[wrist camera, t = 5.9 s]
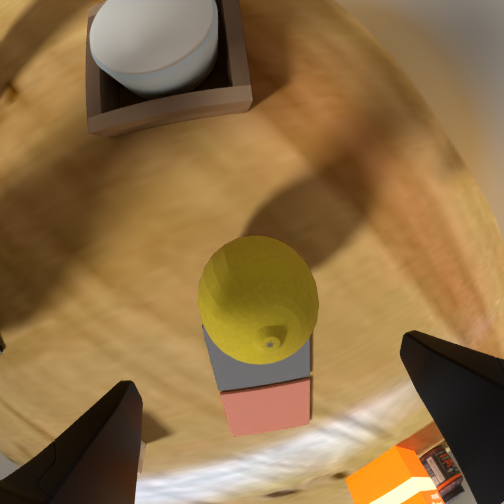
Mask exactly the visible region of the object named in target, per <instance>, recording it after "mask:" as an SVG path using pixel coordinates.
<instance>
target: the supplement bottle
mask: <svg viewBox="0 0 504 504" xmlns="http://www.w3.org/2000/svg"><path fill="white" fill-rule="evenodd" d="M419 460H420V462H421V463H422V465H423V467H424V468H425V470H426V472H427V474H428V475H429V477H430V478H431V480H432V481H433V483H434V485H435V487H436V488H437V491H438V493H439V494H440V496H441V498H442V500H443V501H444V503H445V504H449V503H451V502H452V501H454V500H455V499H457V498H458V497H459V496H460V495H461V494H463V493H464V489H463V487H462V486H461V482H462V481H463V476H462V475H461V473H460V471H459V470H458V468H457V467H456V465H455V464H454V462H453V461H452V459H451V458H450V456H449V455H448V453H447V452H446V450H445V449H444V448H443V447H437V448H434V449H432V450H431V451H429V452H428V453H427V454H425V455H424V456H422V457H421V458H420V459H419Z"/></svg>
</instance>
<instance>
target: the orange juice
mask: <svg viewBox="0 0 504 504" xmlns="http://www.w3.org/2000/svg"><path fill="white" fill-rule="evenodd" d="M345 480H346V482H347V485H348V487H349V490H350V493H351V495H352V498H353V500H354V503H355V504H445V503H444V501H443V500H442V498H441V496H440V494H439V493H438V491H437V488H436V487H435V485H434V483H433V481H432V480H431V478H430V477H429V475H428V474H427V472H426V470H425V468H424V467H423V465H422V463H421V462H420V460H419V458H418V457H417V455H416V453H415V452H414V451H412V450H408V449H405V448H401V447H398V446H394V447H392V448H391V449H390V450H388V451H387V452H385V453H384V454H383V455H381V456H380V457H378V458H377V459H375V460H374V461H373V462H371V463H370V464H368V465H367V466H365V467H363V468H362V469H360V470H359V471H357V472H356V473H354V474H352V475H351V476H349V477H347V478H346V479H345Z"/></svg>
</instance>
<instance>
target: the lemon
mask: <svg viewBox="0 0 504 504" xmlns="http://www.w3.org/2000/svg"><path fill="white" fill-rule="evenodd" d="M198 306H199V311H200V315H201V319H202V323H203V325H204V327H205V329H206V331H207V333H208V335H209V336H210V338H211V340H212V341H213V342H214V344H215V345H216V346H217V347H218V348H219V349H221V350H222V351H223V352H224V353H225V354H227V355H229V356H231V357H232V358H234V359H236V360H238V361H241V362H245V363H248V364H260V365H261V364H270V363H275V362H278V361H281V360H284V359H285V358H287V357H289V356H291V355H292V354H294V353H295V352H297V351H298V350H299V349H300V348H301V347H302V346H303V345H304V344H305V343H306V341H307V340H308V339H309V337H310V336H311V334H312V332H313V330H314V327H315V325H316V322H317V317H318V309H319V300H318V293H317V287H316V283H315V280H314V277H313V275H312V273H311V271H310V269H309V267H308V265H307V264H306V262H305V261H304V260H303V259H302V258H301V257H300V255H299V254H298V253H297V252H296V251H295V250H294V249H292V248H291V247H289V246H288V245H286V244H285V243H283V242H281V241H279V240H276V239H273V238H270V237H267V236H247V237H242V238H237V239H235V240H233V241H231V242H229V243H227V244H225V245H224V246H223V247H221V248H220V249H219V250H218V251H217V252H215V253H214V255H213V256H212V257H211V259H210V260H209V262H208V263H207V264H206V266H205V268H204V270H203V273H202V276H201V279H200V281H199V289H198Z"/></svg>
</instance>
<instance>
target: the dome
mask: <svg viewBox="0 0 504 504" xmlns="http://www.w3.org/2000/svg"><path fill="white" fill-rule="evenodd" d="M90 49H91V54H92V56H93V59H94V60H95V62H96V64H97V65H98V66H99V67H100V68H101V69H102V70H104V71H105V72H106V73H108V74H109V75H110V76H112V77H113V78H114V79H116V80H117V81H118V82H120V83H121V84H122V85H124V86H125V87H126V88H128V89H129V90H130V91H131V92H133V93H134V94H136V95H138V96H141V97H143V98H148V99H159V98H164V97H169V96H174V95H179V94H185V93H187V92H189V91H191V90H192V89H194V88H195V87H197V86H198V85H199V84H201V83H202V82H203V81H204V80H205V79H206V78H207V76H208V75H209V74H210V72H211V71H212V69H213V67H214V65H215V63H216V60H217V56H218V10H217V5H216V3H215V0H107V1H106V2H105V3H104V5H103V6H102V7H101V8H100V10H99V11H98V13H97V14H96V16H95V18H94V20H93V23H92V26H91V29H90Z"/></svg>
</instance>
